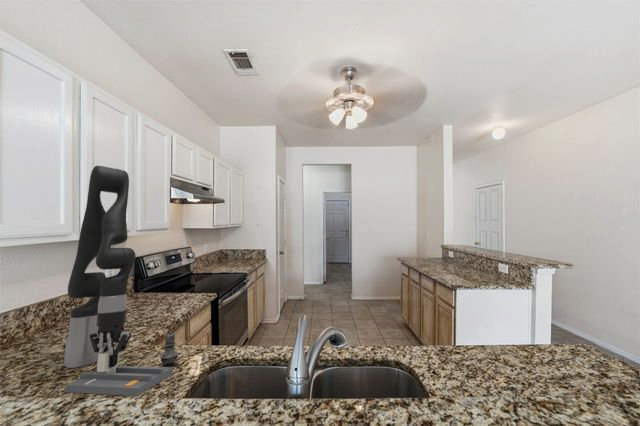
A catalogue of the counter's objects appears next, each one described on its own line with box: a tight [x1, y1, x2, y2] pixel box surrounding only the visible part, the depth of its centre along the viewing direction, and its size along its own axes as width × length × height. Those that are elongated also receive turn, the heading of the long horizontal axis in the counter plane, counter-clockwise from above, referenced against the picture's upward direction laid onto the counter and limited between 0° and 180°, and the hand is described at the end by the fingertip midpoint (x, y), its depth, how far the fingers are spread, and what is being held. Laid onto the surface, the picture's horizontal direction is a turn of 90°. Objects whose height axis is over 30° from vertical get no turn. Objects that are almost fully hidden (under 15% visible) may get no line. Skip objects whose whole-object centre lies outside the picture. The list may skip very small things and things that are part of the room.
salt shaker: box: [159, 330, 179, 368], centre depth 96 cm, size 6×6×12 cm
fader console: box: [64, 365, 174, 397], centre depth 84 cm, size 24×14×4 cm, turn 81°
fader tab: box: [96, 348, 120, 373], centre depth 85 cm, size 3×5×7 cm, turn 171°
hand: (108, 366), depth 85 cm, fingers closed on fader tab, 2 cm apart
